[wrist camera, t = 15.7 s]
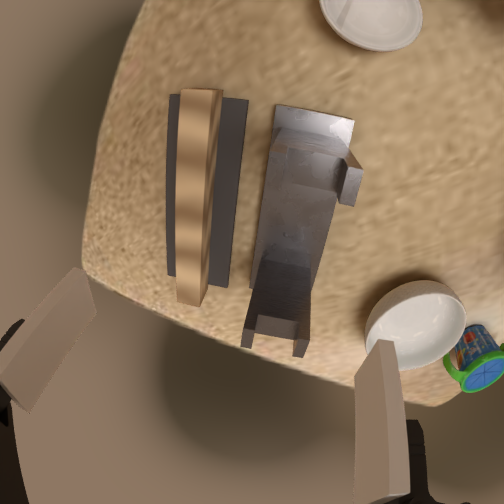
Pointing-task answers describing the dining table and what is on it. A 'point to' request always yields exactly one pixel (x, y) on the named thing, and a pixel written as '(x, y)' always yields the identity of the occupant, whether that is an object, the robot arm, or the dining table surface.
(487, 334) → the snack cup
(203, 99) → the maple rail
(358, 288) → the dining table surface
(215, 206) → the black rubber mat
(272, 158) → the stand
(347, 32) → the ramekin
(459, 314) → the cereal bowl
